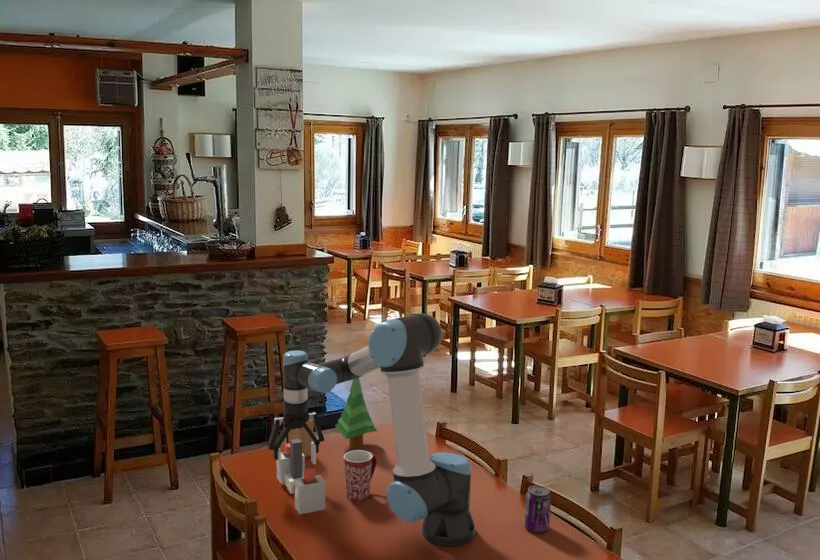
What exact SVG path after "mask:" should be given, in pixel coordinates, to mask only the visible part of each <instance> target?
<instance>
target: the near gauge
mask: <svg viewBox="0 0 820 560" xmlns="http://www.w3.org/2000/svg"><path fill="white" fill-rule="evenodd" d="M316 471H317V470H316V469H315V468H313V467H312V468H311V467H308V468H305V470H304V482H307V483H312V482H314V481H316V476H317V475H316V474H317V473H316Z"/></svg>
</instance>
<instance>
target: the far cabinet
mask: <svg viewBox="0 0 820 560" xmlns="http://www.w3.org/2000/svg"><path fill="white" fill-rule="evenodd" d="M305 462H306V458H305V455H304V454H303V453H302V471H303V472H304V470H305V469H306V465H305V464H306V463H305ZM289 473H291V467H290V456H286V455H285V451H284V452H281V470H278V469H277V468H276V480H277V479H278V480H279V482H280V483H281V484H285V474H289ZM278 480H277V481H278ZM279 482H278V483H279ZM280 483H279V484H280Z"/></svg>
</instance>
